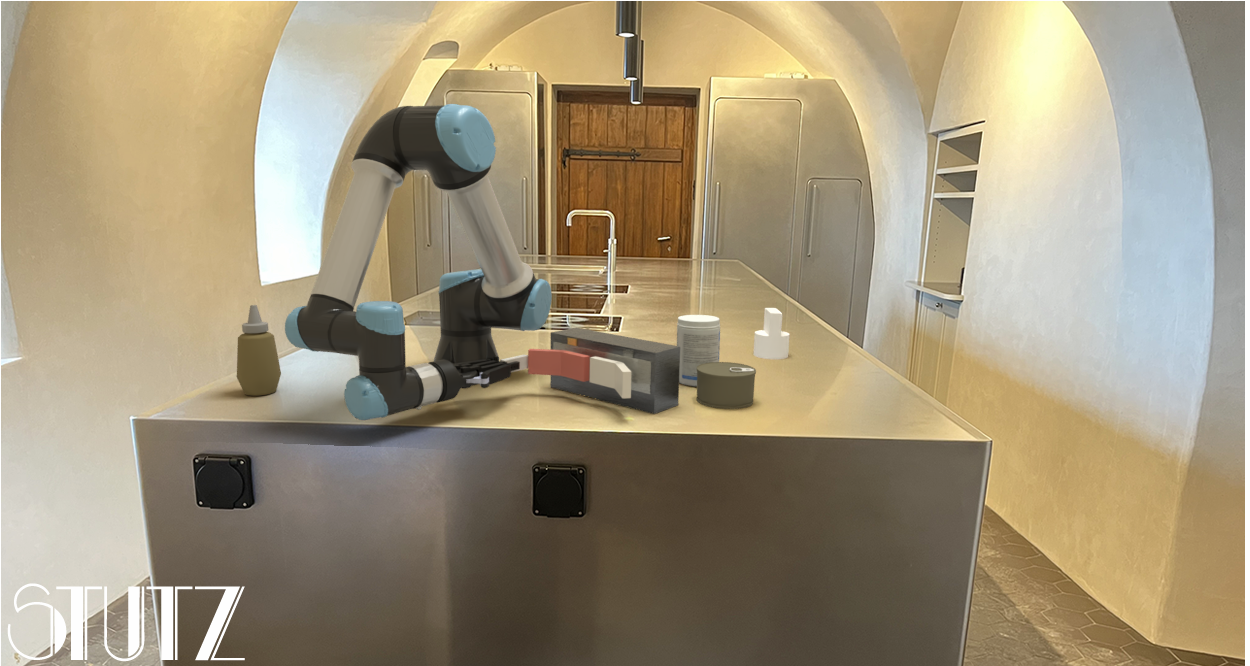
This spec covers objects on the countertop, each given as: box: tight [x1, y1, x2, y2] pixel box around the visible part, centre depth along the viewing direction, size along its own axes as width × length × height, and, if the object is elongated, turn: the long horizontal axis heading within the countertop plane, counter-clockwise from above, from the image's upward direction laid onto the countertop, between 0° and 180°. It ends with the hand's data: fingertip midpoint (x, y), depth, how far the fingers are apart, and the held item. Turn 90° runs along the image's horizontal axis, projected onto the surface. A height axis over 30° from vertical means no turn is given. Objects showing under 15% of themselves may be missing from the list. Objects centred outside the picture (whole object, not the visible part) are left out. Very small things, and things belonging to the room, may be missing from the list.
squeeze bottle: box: [236, 304, 282, 397], centre depth 146 cm, size 8×8×18 cm
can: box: [696, 361, 757, 410], centre depth 148 cm, size 12×12×7 cm
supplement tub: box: [676, 314, 721, 388], centre depth 161 cm, size 10×10×15 cm
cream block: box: [590, 356, 631, 398], centre depth 138 cm, size 4×14×5 cm, turn 31°
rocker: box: [527, 348, 590, 382], centre depth 147 cm, size 4×14×5 cm, turn 66°
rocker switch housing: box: [550, 327, 680, 415], centre depth 149 cm, size 8×28×12 cm, turn 51°
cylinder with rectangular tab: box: [753, 307, 791, 360], centre depth 190 cm, size 9×9×12 cm
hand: (526, 361), depth 149 cm, fingers closed
